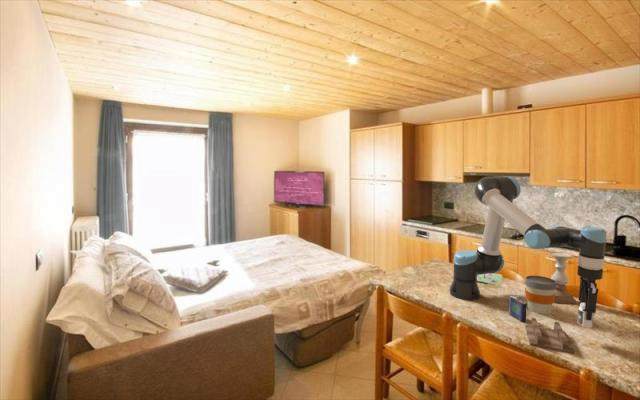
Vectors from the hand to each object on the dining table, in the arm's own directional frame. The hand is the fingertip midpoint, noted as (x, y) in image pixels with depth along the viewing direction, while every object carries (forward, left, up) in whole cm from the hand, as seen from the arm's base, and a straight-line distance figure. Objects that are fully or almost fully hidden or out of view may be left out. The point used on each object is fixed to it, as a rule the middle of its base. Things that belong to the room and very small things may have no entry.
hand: (584, 323), depth 128 cm
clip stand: (-13, -5, -7) cm, 15 cm away
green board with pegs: (-33, +65, -8) cm, 73 cm away
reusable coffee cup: (-12, +25, -7) cm, 28 cm away
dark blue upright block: (-22, +11, -7) cm, 25 cm away
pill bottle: (0, 0, -1) cm, 1 cm away
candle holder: (0, +44, -7) cm, 44 cm away
